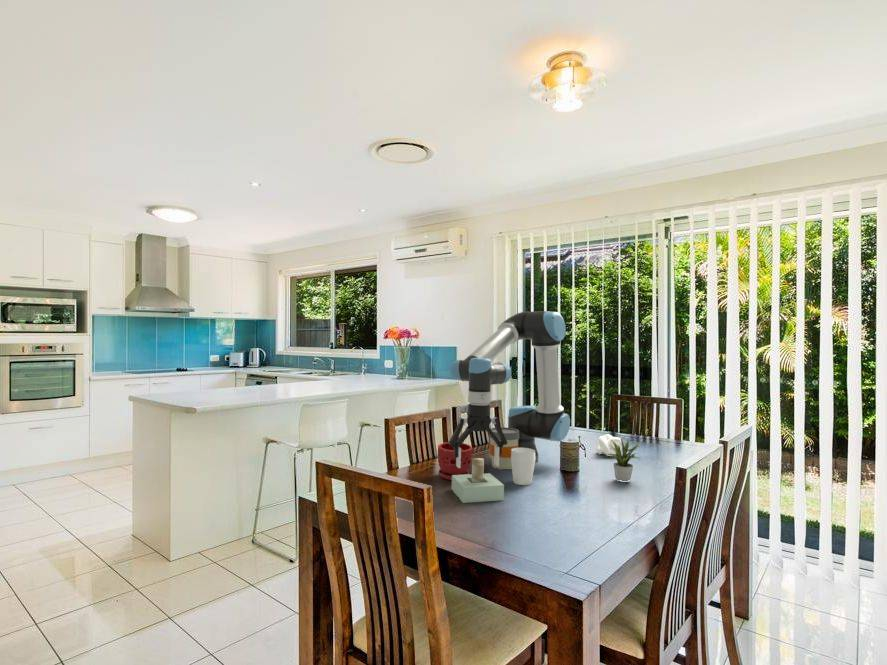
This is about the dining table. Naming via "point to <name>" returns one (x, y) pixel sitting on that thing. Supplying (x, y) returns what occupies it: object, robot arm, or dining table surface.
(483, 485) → the socket block
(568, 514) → the dining table surface
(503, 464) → the reusable coffee cup
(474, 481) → the peg
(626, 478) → the house plant
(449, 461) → the plant pot
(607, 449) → the crumpled white lump
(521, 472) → the cup
